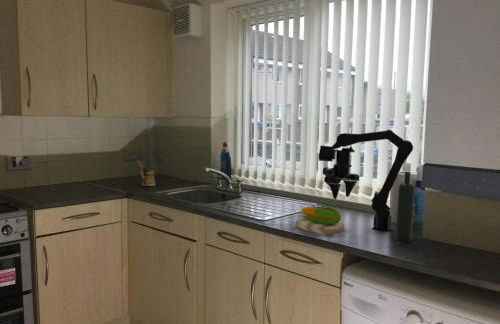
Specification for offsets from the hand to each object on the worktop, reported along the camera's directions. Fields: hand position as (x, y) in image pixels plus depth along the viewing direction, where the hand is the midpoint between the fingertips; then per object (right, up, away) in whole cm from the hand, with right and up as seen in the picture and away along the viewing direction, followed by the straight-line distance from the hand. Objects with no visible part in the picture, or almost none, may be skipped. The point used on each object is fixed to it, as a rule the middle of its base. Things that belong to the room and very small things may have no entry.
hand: (341, 197), depth 191 cm
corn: (-11, -10, -8) cm, 16 cm away
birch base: (-11, -13, -7) cm, 18 cm away
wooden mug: (-107, 0, +93) cm, 142 cm away
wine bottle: (+20, -15, -21) cm, 32 cm away
